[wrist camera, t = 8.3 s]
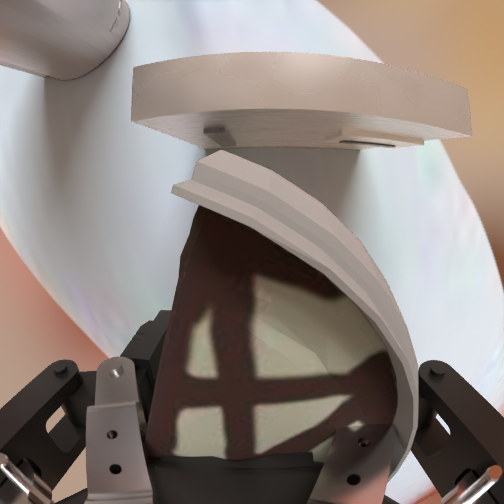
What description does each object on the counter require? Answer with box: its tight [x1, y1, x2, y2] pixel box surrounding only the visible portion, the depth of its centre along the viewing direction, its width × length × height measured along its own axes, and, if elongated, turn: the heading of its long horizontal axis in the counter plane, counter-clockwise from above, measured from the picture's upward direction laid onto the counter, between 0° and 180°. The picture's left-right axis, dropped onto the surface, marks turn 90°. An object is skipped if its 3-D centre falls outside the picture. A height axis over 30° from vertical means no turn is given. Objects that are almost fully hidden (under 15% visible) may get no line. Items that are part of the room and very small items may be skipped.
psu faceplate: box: [131, 52, 472, 150], centre depth 12 cm, size 11×2×12 cm, turn 91°
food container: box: [145, 150, 419, 483], centre depth 9 cm, size 12×6×10 cm, turn 161°
